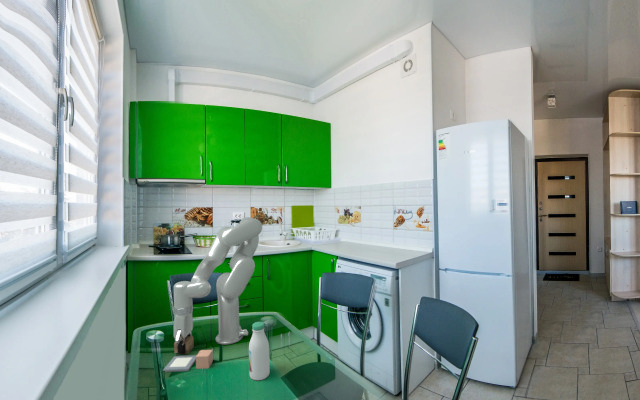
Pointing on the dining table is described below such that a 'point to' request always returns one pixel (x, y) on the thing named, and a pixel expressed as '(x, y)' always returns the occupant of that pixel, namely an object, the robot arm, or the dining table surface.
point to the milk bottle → (259, 353)
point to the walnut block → (188, 344)
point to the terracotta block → (204, 359)
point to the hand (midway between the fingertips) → (184, 349)
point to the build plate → (180, 363)
